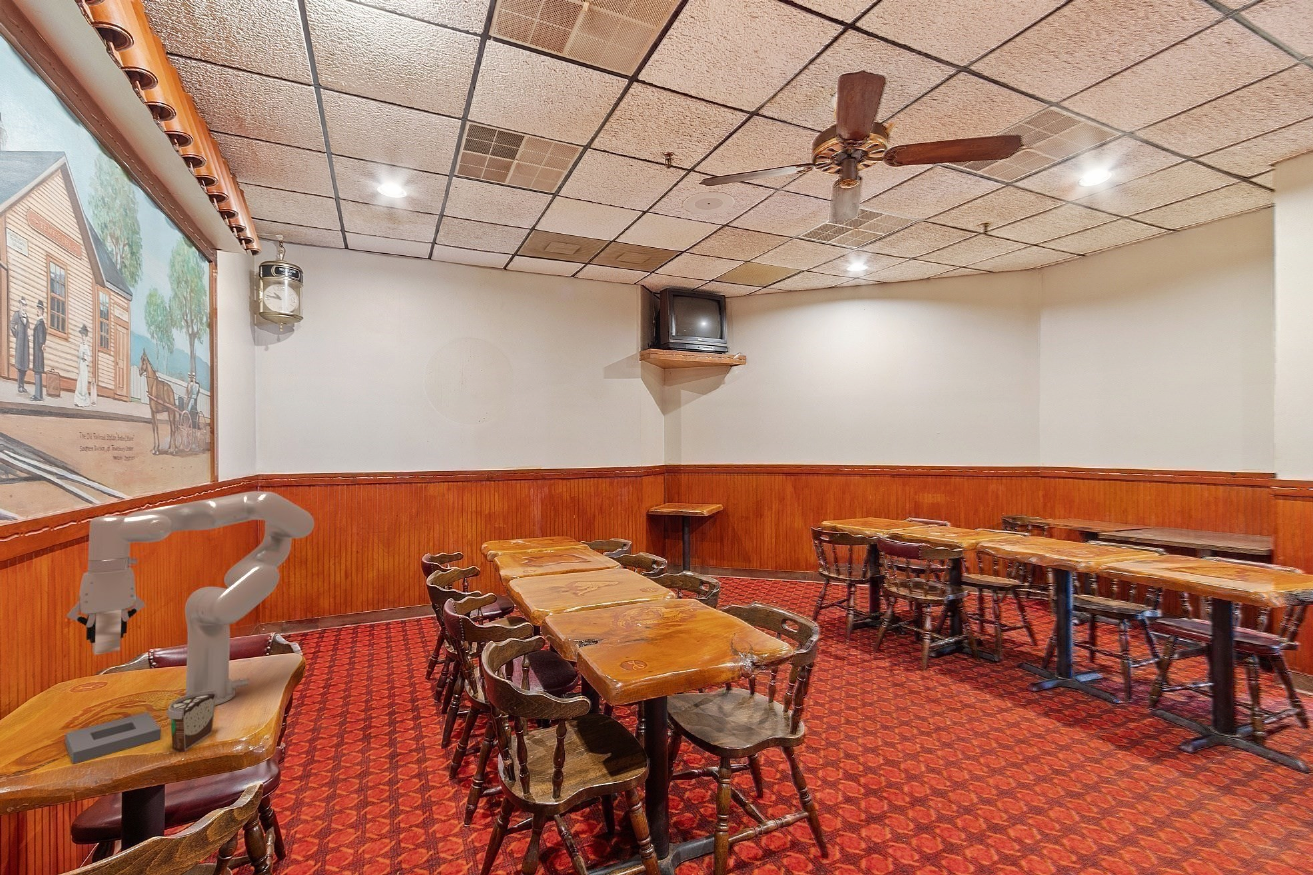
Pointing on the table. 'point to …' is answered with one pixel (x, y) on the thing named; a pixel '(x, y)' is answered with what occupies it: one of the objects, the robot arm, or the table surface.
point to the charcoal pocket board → (111, 737)
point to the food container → (191, 719)
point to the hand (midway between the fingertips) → (106, 638)
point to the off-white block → (107, 632)
